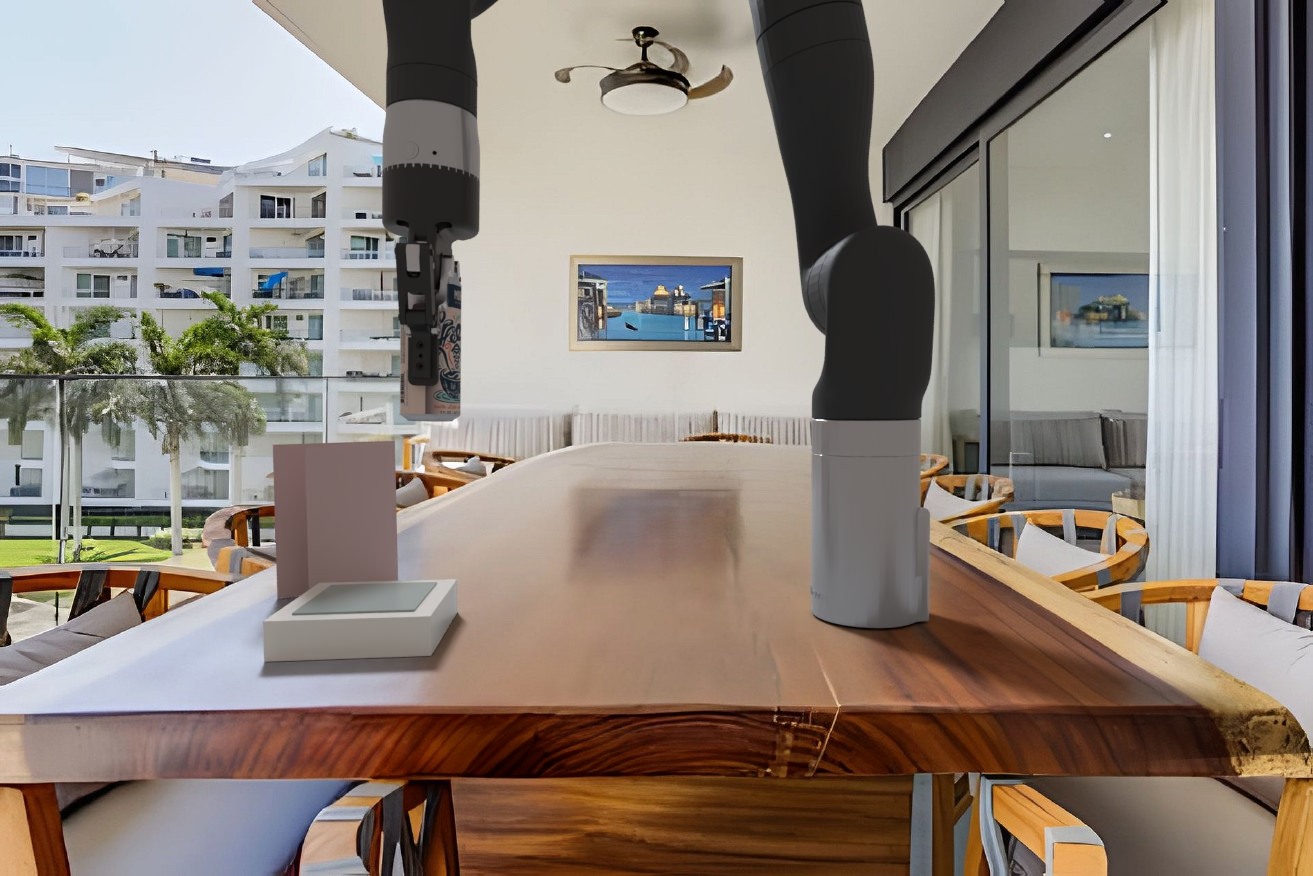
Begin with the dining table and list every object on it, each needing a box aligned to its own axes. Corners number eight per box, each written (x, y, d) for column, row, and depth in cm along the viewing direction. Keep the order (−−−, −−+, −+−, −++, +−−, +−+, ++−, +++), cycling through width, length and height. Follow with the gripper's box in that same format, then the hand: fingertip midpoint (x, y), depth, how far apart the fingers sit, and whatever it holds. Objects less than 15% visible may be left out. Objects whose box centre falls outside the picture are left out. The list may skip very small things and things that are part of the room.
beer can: (443, 422, 60) (444, 266, 59) (387, 420, 61) (388, 267, 60) (470, 421, 64) (471, 276, 64) (418, 419, 65) (418, 277, 65)
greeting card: (396, 581, 81) (392, 440, 81) (413, 596, 75) (410, 443, 74) (276, 596, 76) (271, 444, 75) (284, 614, 69) (279, 447, 68)
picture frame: (457, 612, 69) (457, 577, 69) (431, 655, 57) (430, 614, 57) (320, 616, 68) (319, 581, 68) (264, 661, 56) (262, 619, 56)
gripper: (465, 146, 55) (463, 385, 56) (490, 199, 69) (488, 389, 70) (357, 141, 54) (356, 383, 55) (404, 195, 68) (403, 387, 69)
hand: (430, 385), depth 62 cm, fingers closed on beer can, 4 cm apart
